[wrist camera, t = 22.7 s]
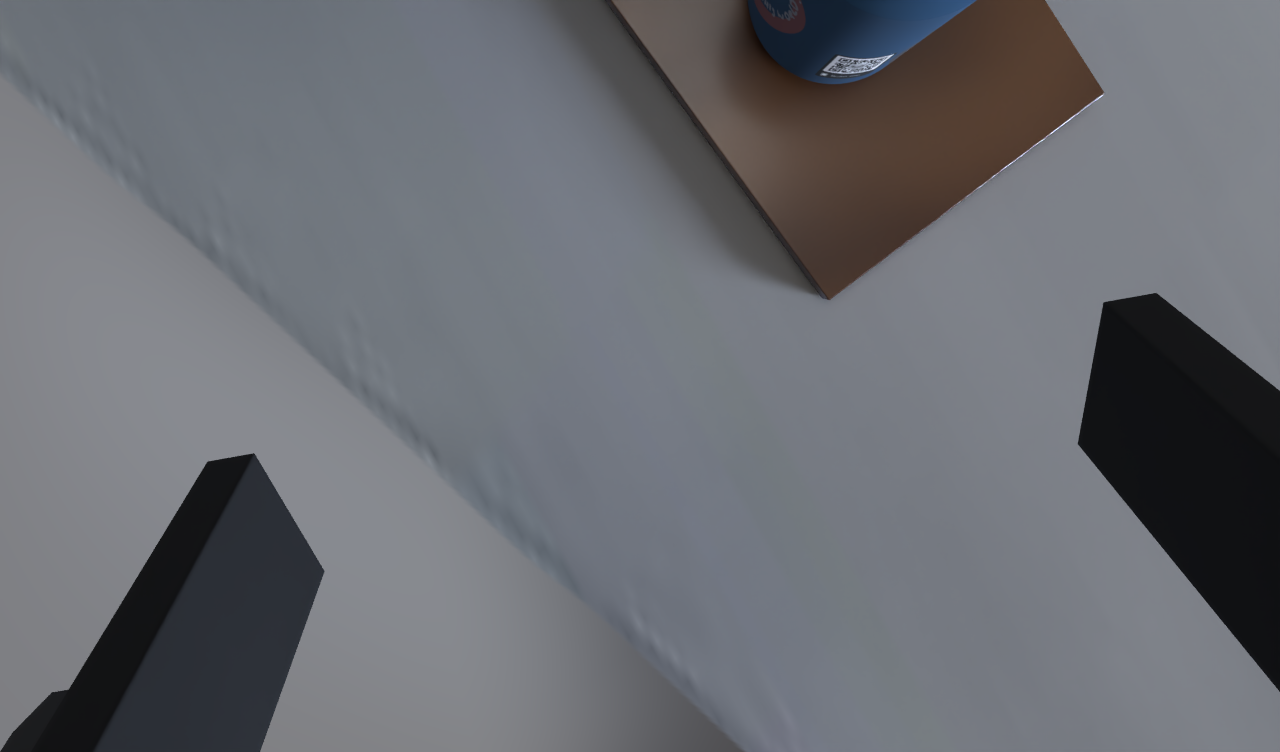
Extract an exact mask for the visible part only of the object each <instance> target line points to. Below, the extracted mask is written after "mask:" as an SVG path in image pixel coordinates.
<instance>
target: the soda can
mask: <svg viewBox="0 0 1280 752" xmlns="http://www.w3.org/2000/svg"><path fill="white" fill-rule="evenodd" d="M975 1H976V0H748V8H749V13H750V17H751V21H752V24H753V27H754V30H755V32H756V34H757V36H758V38H759V40H760V42H761V43H762V45H763V47H764V48H765V49H766V51H767V52H768V53H769V54H770V56H771V57H772V58H773V59H774V60H775V61H776V62H777V63H778V64H780V65H781V66H782V67H783V68H785V69H786V70H788V71H789V72H791V73H793V74H794V75H796V76H798V77H801V78H803V79H806V80H809V81H812V82H817V83H823V84H843V83H849V82H854V81H857V80H861V79H863V78H866V77H868V76H871V75H873V74H875V73H876V72H878V71H880V70H881V69H883V68H884V67H886V66H887V65H888V64H890V63H891V62H892V61H894V60H895V59H897V58H898V57H899V56H901V55H902V54H903V53H905V52H906V51H908V50H909V49H910V48H912V47H913V46H914V45H916V44H917V43H919V42H920V41H921V40H923V39H924V38H926V37H927V36H928V35H930V34H931V33H932V32H934V31H935V30H937V29H938V28H939V27H941V26H942V25H943V24H945V23H946V22H948V21H949V20H950V19H952V18H953V17H954V16H956V15H957V14H959V13H960V12H961V11H963V10H964V9H965V8H967V7H968V6H970V5H971V4H972V3H974V2H975Z"/></svg>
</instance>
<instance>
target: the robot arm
mask: <svg viewBox="0 0 1280 752" xmlns="http://www.w3.org/2000/svg"><path fill="white" fill-rule="evenodd" d="M1078 445H1079V446H1080V447H1081V448H1082V450H1083V451H1084V452H1085V453H1086V455H1087V456H1088V457H1089V458H1090V460H1091V461H1092V462H1093V463H1094V464H1095V466H1096V467H1097V468H1098V469H1099V471H1100V472H1101V473H1102V474H1103V475H1104V477H1105V478H1106V479H1107V480H1108V482H1109V483H1110V484H1111V485H1112V486H1113V488H1114V489H1115V490H1116V491H1117V493H1118V494H1119V495H1120V496H1121V498H1122V499H1123V500H1124V501H1125V502H1126V504H1127V505H1128V506H1129V507H1130V509H1131V510H1132V511H1133V512H1134V513H1135V515H1136V516H1137V517H1138V518H1139V520H1140V521H1141V522H1142V523H1143V525H1144V526H1145V527H1146V528H1147V529H1148V531H1149V532H1150V533H1151V534H1152V536H1153V537H1154V538H1155V539H1156V540H1157V542H1158V543H1159V544H1160V545H1161V547H1162V548H1163V549H1164V550H1165V552H1166V553H1167V554H1168V555H1169V556H1170V558H1171V559H1172V560H1173V561H1174V563H1175V564H1176V565H1177V566H1178V567H1179V569H1180V570H1181V571H1182V572H1183V574H1184V575H1185V576H1186V577H1187V578H1188V580H1189V581H1190V582H1191V583H1192V585H1193V586H1194V587H1195V588H1196V590H1197V591H1198V592H1199V593H1200V594H1201V596H1202V597H1203V598H1204V599H1205V601H1206V602H1207V603H1208V604H1209V605H1210V607H1211V608H1212V609H1213V610H1214V612H1215V613H1216V614H1217V615H1218V617H1219V618H1220V619H1221V620H1222V621H1223V623H1224V624H1225V625H1226V626H1227V628H1228V629H1229V630H1230V631H1231V632H1232V634H1233V635H1234V636H1235V637H1236V639H1237V640H1238V641H1239V642H1240V643H1241V645H1242V646H1243V647H1244V648H1245V650H1246V651H1247V652H1248V653H1249V655H1250V656H1251V657H1252V658H1253V659H1254V661H1255V662H1256V663H1257V664H1258V666H1259V667H1260V668H1261V669H1262V670H1263V672H1264V673H1265V674H1266V675H1267V677H1268V678H1269V679H1270V680H1271V682H1272V683H1273V684H1274V685H1275V686H1276V688H1277V689H1278V690H1279V691H1280V391H1279V390H1278V389H1277V388H1275V387H1274V386H1273V385H1272V384H1270V383H1269V382H1268V381H1267V380H1265V379H1264V378H1263V377H1261V376H1260V375H1259V374H1258V373H1256V372H1255V371H1254V370H1253V369H1251V368H1250V367H1249V366H1248V365H1246V364H1245V363H1244V362H1243V361H1241V360H1240V359H1239V358H1238V357H1236V356H1235V355H1234V354H1233V353H1231V352H1230V351H1229V350H1227V349H1226V348H1225V347H1224V346H1222V345H1221V344H1220V343H1219V342H1217V341H1216V340H1215V339H1214V338H1212V337H1211V336H1210V335H1209V334H1207V333H1206V332H1205V331H1204V330H1202V329H1201V328H1200V327H1198V326H1197V325H1196V324H1195V323H1193V322H1192V321H1191V320H1190V319H1188V318H1187V317H1186V316H1185V315H1183V314H1182V313H1181V312H1180V311H1178V310H1177V309H1176V308H1175V307H1173V306H1172V305H1171V304H1169V303H1168V302H1167V301H1166V300H1164V299H1163V298H1162V297H1161V296H1159V295H1158V294H1157V293H1153V294H1148V295H1142V296H1137V297H1131V298H1125V299H1120V300H1114V301H1108V302H1104V303H1103V309H1102V314H1101V320H1100V325H1099V331H1098V336H1097V342H1096V347H1095V353H1094V358H1093V363H1092V369H1091V374H1090V380H1089V385H1088V391H1087V396H1086V402H1085V407H1084V413H1083V418H1082V424H1081V429H1080V435H1079V440H1078ZM323 574H324V570H323V568H322V566H321V565H320V563H319V561H318V560H317V558H316V556H315V555H314V553H313V551H312V549H311V548H310V546H309V544H308V543H307V541H306V539H305V538H304V536H303V534H302V533H301V531H300V529H299V528H298V526H297V525H296V523H295V521H294V519H293V518H292V516H291V514H290V513H289V511H288V509H287V508H286V506H285V504H284V502H283V501H282V499H281V497H280V496H279V494H278V492H277V491H276V489H275V487H274V486H273V484H272V482H271V481H270V479H269V477H268V476H267V474H266V472H265V471H264V469H263V467H262V465H261V464H260V462H259V460H258V459H257V457H256V455H255V454H254V453H253V454H248V455H243V456H237V457H231V458H225V459H220V460H214V461H209V462H207V464H206V465H205V467H204V469H203V470H202V472H201V473H200V475H199V477H198V478H197V480H196V482H195V483H194V485H193V486H192V488H191V490H190V492H189V493H188V495H187V496H186V498H185V500H184V501H183V503H182V504H181V506H180V508H179V510H178V511H177V513H176V514H175V516H174V518H173V520H172V521H171V523H170V524H169V526H168V528H167V529H166V531H165V532H164V534H163V536H162V538H161V539H160V541H159V542H158V544H157V546H156V547H155V549H154V551H153V552H152V554H151V556H150V557H149V559H148V560H147V562H146V564H145V565H144V567H143V569H142V570H141V572H140V573H139V575H138V577H137V578H136V580H135V582H134V583H133V585H132V587H131V588H130V590H129V592H128V593H127V595H126V596H125V598H124V600H123V601H122V603H121V605H120V606H119V608H118V610H117V611H116V613H115V615H114V616H113V618H112V619H111V621H110V623H109V625H108V626H107V628H106V630H105V631H104V633H103V634H102V636H101V638H100V639H99V641H98V643H97V644H96V646H95V647H94V649H93V651H92V652H91V654H90V656H89V657H88V659H87V661H86V662H85V664H84V666H83V667H82V669H81V670H80V672H79V674H78V675H77V677H76V679H75V680H74V682H73V684H72V685H71V687H70V689H69V690H64V691H58V692H52V693H51V694H50V695H49V696H48V697H47V698H46V699H45V700H44V701H43V702H42V703H41V704H40V705H39V706H38V707H37V708H36V709H35V710H34V711H33V712H32V713H31V715H29V716H28V717H27V718H26V719H25V720H24V722H23V723H22V724H21V725H20V726H19V727H18V728H17V729H16V730H15V731H14V732H13V733H12V735H11V736H10V737H9V739H8V740H7V742H6V744H5V745H4V747H3V748H2V750H1V751H0V752H260V750H261V747H262V744H263V742H264V739H265V736H266V733H267V730H268V728H269V725H270V722H271V719H272V717H273V714H274V711H275V708H276V705H277V702H278V700H279V697H280V694H281V691H282V688H283V686H284V683H285V680H286V677H287V675H288V672H289V669H290V666H291V663H292V660H293V658H294V655H295V652H296V649H297V647H298V644H299V641H300V638H301V635H302V632H303V630H304V627H305V624H306V621H307V619H308V616H309V613H310V610H311V607H312V605H313V602H314V599H315V596H316V593H317V591H318V588H319V585H320V582H321V580H322V577H323Z"/></svg>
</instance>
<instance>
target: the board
mask: <svg viewBox="0 0 1280 752" xmlns="http://www.w3.org/2000/svg"><path fill="white" fill-rule="evenodd" d="M605 1H606V2H607V3H608V5H609V6H610V7H611V9H612V10H613V11H614V13H615V14H616V16H617V17H618V18H619V20H620V21H621V22H622V24H623V25H624V27H625V28H626V29H627V31H628V32H629V33H630V35H631V36H632V38H633V39H634V40H635V42H636V43H637V44H638V46H639V47H640V49H641V50H642V51H643V53H644V54H645V55H646V57H647V58H648V60H649V61H650V62H651V64H652V65H653V66H654V68H655V69H656V71H657V72H658V73H659V75H660V76H661V77H662V79H663V80H664V82H665V83H666V84H667V86H668V87H669V88H670V90H671V91H672V92H673V94H674V95H675V97H676V98H677V99H678V101H679V102H680V103H681V105H682V106H683V108H684V109H685V110H686V112H687V113H688V114H689V116H690V117H691V119H692V120H693V121H694V123H695V124H696V125H697V127H698V128H699V130H700V131H701V132H702V134H703V135H704V136H705V138H706V139H707V141H708V142H709V143H710V145H711V146H712V147H713V149H714V150H715V152H716V153H717V154H718V156H719V157H720V158H721V160H722V161H723V163H724V164H725V165H726V167H727V168H728V169H729V171H730V172H731V173H732V175H733V176H734V178H735V179H736V180H737V182H738V183H739V184H740V186H741V187H742V189H743V190H744V191H745V193H746V194H747V195H748V197H749V198H750V200H751V201H752V202H753V204H754V205H755V206H756V208H757V209H758V211H759V212H760V213H761V215H762V216H763V217H764V219H765V220H766V222H767V223H768V224H769V226H770V227H771V228H772V230H773V231H774V233H775V234H776V235H777V237H778V238H779V239H780V241H781V242H782V244H783V245H784V246H785V248H786V249H787V250H788V252H789V253H790V254H791V256H792V257H793V259H794V260H795V261H796V263H797V264H798V265H799V267H800V268H801V270H802V271H803V272H804V274H805V275H806V276H807V278H808V279H809V281H810V282H811V283H812V285H813V286H814V287H815V289H816V290H817V292H818V293H819V294H820V296H821V297H822V298H824V299H827V300H830V299H831V298H833V297H834V296H835V295H837V294H838V293H839V292H841V291H842V290H843V289H845V288H846V287H847V286H849V285H850V284H851V283H853V282H854V281H855V280H857V279H858V278H859V277H861V276H862V275H863V274H865V273H866V272H867V271H869V270H870V269H871V268H873V267H874V266H875V265H877V264H878V263H879V262H881V261H882V260H883V259H885V258H886V257H887V256H889V255H890V254H891V253H893V252H894V251H896V250H897V249H898V248H900V247H901V246H902V245H904V244H905V243H906V242H908V241H909V240H910V239H912V238H913V237H914V236H916V235H917V234H918V233H920V232H921V231H922V230H924V229H925V228H926V227H928V226H929V225H930V224H932V223H933V222H934V221H936V220H937V219H938V218H940V217H941V216H942V215H944V214H945V213H946V212H948V211H949V210H950V209H952V208H953V207H954V206H956V205H957V204H958V203H960V202H961V201H962V200H964V199H965V198H966V197H968V196H969V195H970V194H972V193H973V192H974V191H976V190H977V189H978V188H980V187H981V186H982V185H984V184H985V183H986V182H988V181H989V180H990V179H992V178H993V177H994V176H996V175H997V174H998V173H1000V172H1001V171H1002V170H1004V169H1005V168H1006V167H1008V166H1009V165H1010V164H1012V163H1013V162H1014V161H1016V160H1017V159H1018V158H1020V157H1021V156H1022V155H1024V154H1025V153H1026V152H1028V151H1029V150H1030V149H1032V148H1033V147H1034V146H1036V145H1037V144H1038V143H1040V142H1041V141H1042V140H1044V139H1045V138H1046V137H1048V136H1049V135H1050V134H1052V133H1053V132H1054V131H1056V130H1057V129H1058V128H1060V127H1061V126H1062V125H1064V124H1065V123H1067V122H1068V121H1069V120H1071V119H1072V118H1073V117H1075V116H1076V115H1077V114H1079V113H1080V112H1081V111H1083V110H1084V109H1085V108H1087V107H1088V106H1089V105H1091V104H1092V103H1093V102H1095V101H1096V100H1097V99H1099V98H1100V97H1101V96H1103V95H1104V92H1103V90H1102V88H1101V87H1100V85H1099V84H1098V82H1097V81H1096V79H1095V78H1094V76H1093V74H1092V73H1091V71H1090V70H1089V68H1088V67H1087V65H1086V63H1085V62H1084V60H1083V59H1082V57H1081V56H1080V54H1079V53H1078V51H1077V49H1076V48H1075V46H1074V45H1073V43H1072V42H1071V40H1070V39H1069V37H1068V35H1067V34H1066V32H1065V31H1064V29H1063V28H1062V26H1061V25H1060V23H1059V21H1058V20H1057V18H1056V17H1055V15H1054V14H1053V12H1052V11H1051V9H1050V7H1049V6H1048V4H1047V3H1046V1H1045V0H976V1H975V2H974V3H972V4H971V5H970V6H968V7H967V8H965V9H964V10H963V11H961V12H960V13H959V14H957V15H956V16H954V17H953V18H952V19H950V20H949V21H948V22H946V23H945V24H943V25H942V26H941V27H939V28H938V29H937V30H935V31H934V32H932V33H931V34H930V35H928V36H927V37H926V38H924V39H923V40H921V41H920V42H919V43H917V44H916V45H914V46H913V47H912V48H910V49H909V50H908V51H906V52H905V53H903V54H902V55H901V56H899V57H898V58H897V59H895V60H894V61H892V62H891V63H890V64H888V65H887V66H886V67H884V68H883V69H881V70H880V71H878V72H876V73H875V74H873V75H871V76H868V77H866V78H863V79H861V80H857V81H854V82H849V83H843V84H823V83H817V82H812V81H809V80H806V79H803V78H801V77H798V76H796V75H794V74H793V73H791V72H789V71H788V70H786V69H785V68H783V67H782V66H781V65H780V64H778V63H777V62H776V61H775V60H774V59H773V58H772V57H771V56H770V54H769V53H768V52H767V51H766V49H765V48H764V47H763V45H762V43H761V42H760V40H759V38H758V36H757V34H756V32H755V30H754V27H753V24H752V21H751V17H750V13H749V8H748V0H605Z"/></svg>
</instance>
